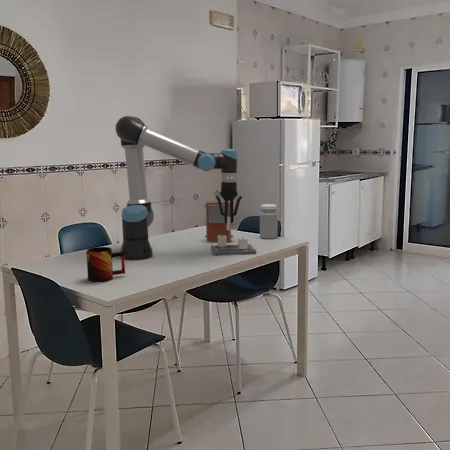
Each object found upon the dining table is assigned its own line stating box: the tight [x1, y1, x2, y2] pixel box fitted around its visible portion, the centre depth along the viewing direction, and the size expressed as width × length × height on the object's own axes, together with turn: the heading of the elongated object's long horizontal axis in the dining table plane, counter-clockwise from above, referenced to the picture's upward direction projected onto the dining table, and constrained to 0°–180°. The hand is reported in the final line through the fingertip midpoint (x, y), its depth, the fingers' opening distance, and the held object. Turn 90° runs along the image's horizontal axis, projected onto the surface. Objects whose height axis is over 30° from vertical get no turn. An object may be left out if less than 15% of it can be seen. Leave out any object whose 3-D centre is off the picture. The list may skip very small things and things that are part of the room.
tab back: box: [217, 235, 228, 247], centre depth 254 cm, size 4×4×5 cm
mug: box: [85, 246, 126, 283], centre depth 206 cm, size 10×14×12 cm
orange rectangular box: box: [204, 200, 234, 243], centre depth 274 cm, size 21×7×15 cm
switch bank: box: [210, 243, 257, 257], centre depth 252 cm, size 20×16×2 cm
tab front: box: [237, 237, 249, 250], centre depth 248 cm, size 4×4×5 cm
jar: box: [259, 203, 279, 240], centre depth 283 cm, size 10×10×18 cm
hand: (228, 229), depth 254 cm, fingers closed
